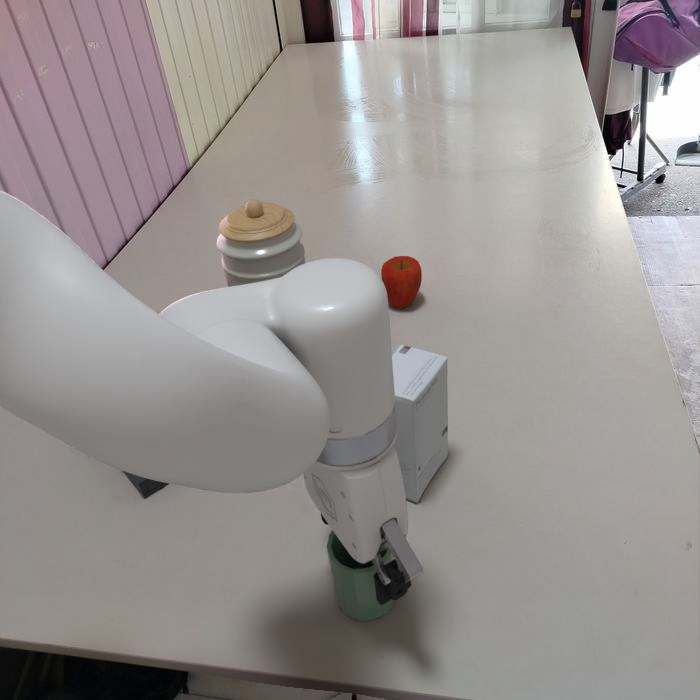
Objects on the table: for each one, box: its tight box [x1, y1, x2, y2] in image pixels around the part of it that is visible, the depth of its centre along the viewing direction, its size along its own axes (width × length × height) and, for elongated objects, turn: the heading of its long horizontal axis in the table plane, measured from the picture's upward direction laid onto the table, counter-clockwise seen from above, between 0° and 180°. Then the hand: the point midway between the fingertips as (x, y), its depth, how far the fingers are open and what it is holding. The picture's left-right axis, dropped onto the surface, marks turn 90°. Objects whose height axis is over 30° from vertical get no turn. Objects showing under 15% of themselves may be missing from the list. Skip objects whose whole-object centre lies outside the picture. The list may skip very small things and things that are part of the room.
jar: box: [216, 198, 306, 287], centre depth 98 cm, size 13×13×18 cm
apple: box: [380, 255, 423, 309], centre depth 97 cm, size 6×6×8 cm
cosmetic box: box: [392, 344, 449, 504], centre depth 68 cm, size 8×6×15 cm
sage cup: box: [326, 530, 395, 622], centre depth 59 cm, size 6×6×8 cm
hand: (364, 552), depth 58 cm, fingers open, 9 cm apart
